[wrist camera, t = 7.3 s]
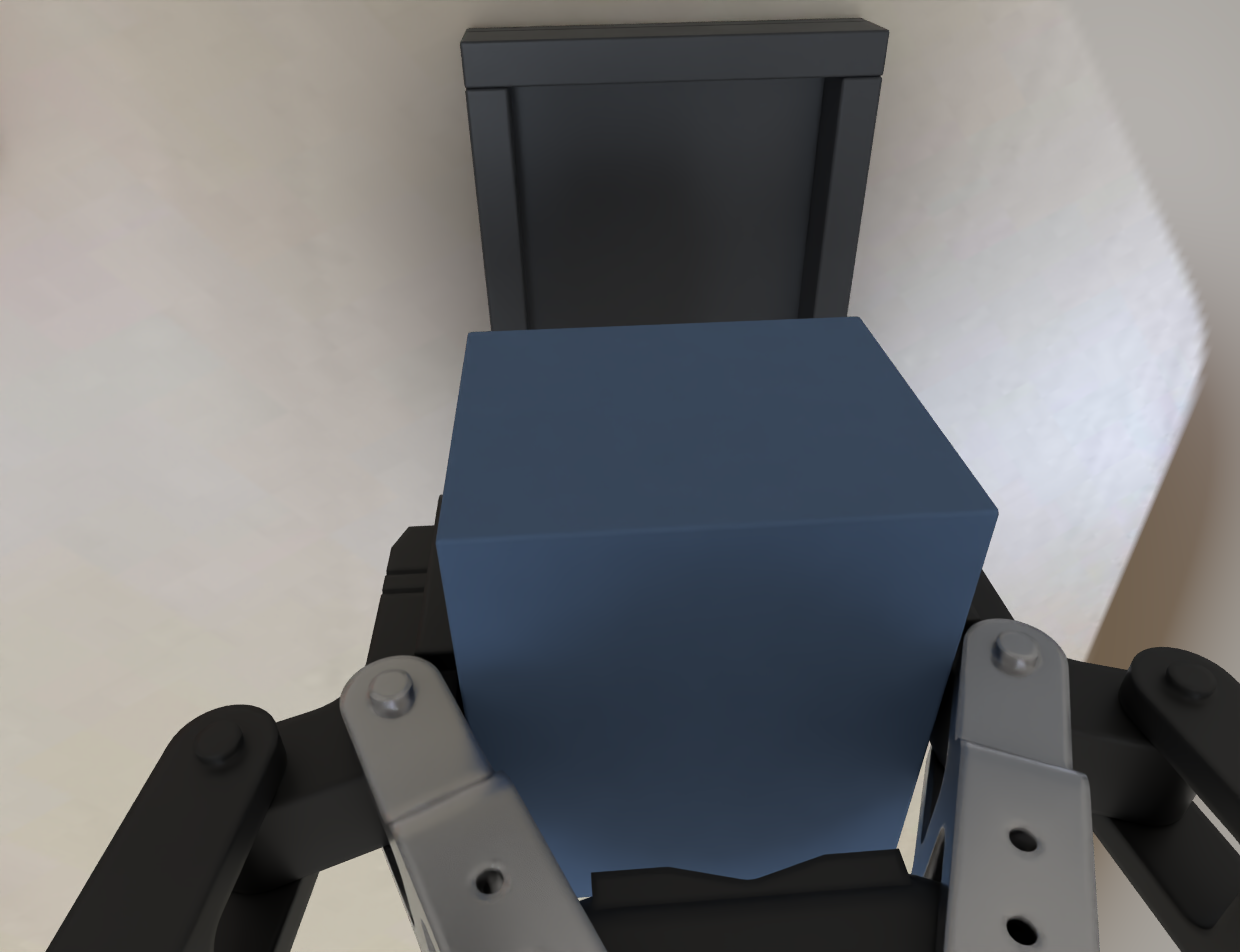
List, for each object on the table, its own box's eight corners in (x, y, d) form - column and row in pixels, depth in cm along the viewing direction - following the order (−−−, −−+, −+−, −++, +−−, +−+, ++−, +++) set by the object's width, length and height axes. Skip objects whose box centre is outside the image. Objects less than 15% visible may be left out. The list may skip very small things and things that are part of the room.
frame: (465, 28, 21) (459, 41, 20) (863, 17, 22) (890, 30, 20) (524, 588, 32) (523, 628, 30) (790, 571, 33) (803, 610, 31)
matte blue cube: (467, 330, 13) (433, 542, 9) (860, 314, 13) (1001, 511, 9) (506, 657, 17) (495, 905, 13) (807, 638, 17) (889, 874, 13)
